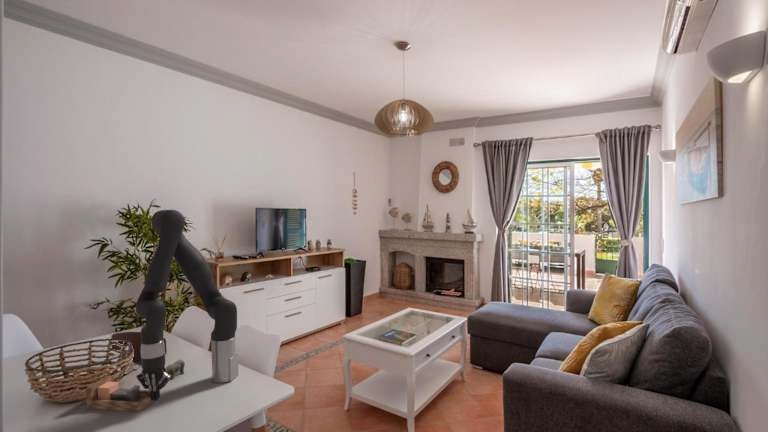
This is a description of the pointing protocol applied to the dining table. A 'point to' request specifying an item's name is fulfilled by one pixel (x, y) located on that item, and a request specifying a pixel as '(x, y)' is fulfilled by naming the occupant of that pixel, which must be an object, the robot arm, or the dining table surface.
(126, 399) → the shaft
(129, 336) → the letter holder
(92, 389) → the wooden tray
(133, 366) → the ceramic mug
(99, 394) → the block
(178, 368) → the rhino figurine
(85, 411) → the dining table surface
